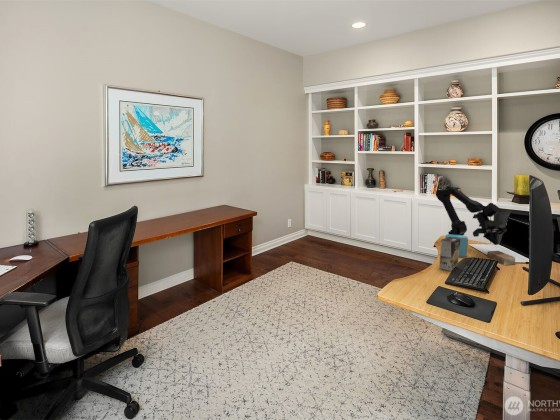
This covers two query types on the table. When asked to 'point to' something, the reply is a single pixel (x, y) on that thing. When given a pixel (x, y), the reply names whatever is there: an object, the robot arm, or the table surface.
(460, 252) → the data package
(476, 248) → the table surface
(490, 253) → the walnut block
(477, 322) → the table surface
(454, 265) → the coffee box
